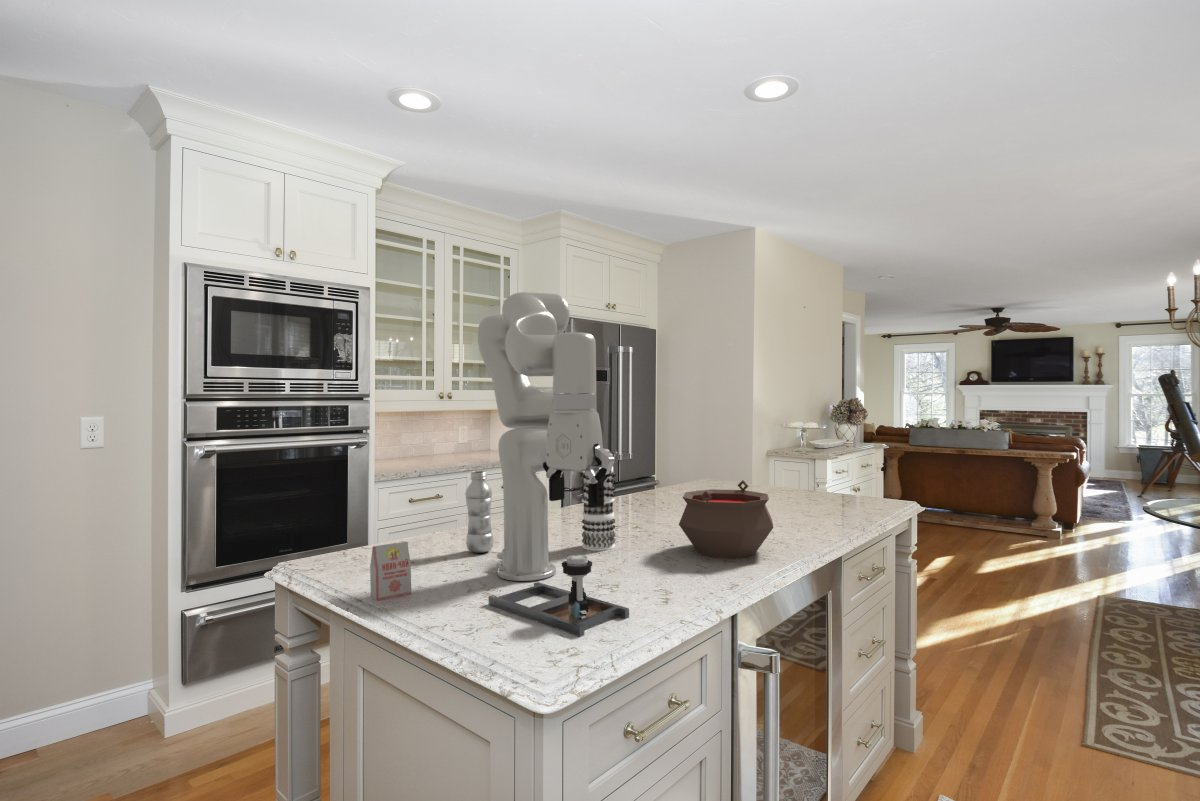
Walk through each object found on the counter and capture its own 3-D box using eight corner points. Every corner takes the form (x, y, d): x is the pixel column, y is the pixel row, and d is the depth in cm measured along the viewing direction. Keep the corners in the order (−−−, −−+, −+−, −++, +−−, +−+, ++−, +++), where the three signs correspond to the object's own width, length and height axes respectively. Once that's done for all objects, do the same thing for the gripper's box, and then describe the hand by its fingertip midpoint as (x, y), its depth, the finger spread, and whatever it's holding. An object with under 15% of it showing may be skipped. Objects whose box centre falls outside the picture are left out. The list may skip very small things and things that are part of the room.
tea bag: (370, 596, 123) (369, 544, 123) (404, 589, 127) (404, 539, 127) (376, 600, 120) (375, 548, 120) (411, 593, 124) (410, 543, 124)
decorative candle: (589, 552, 155) (587, 451, 155) (575, 545, 164) (574, 448, 163) (622, 548, 159) (621, 449, 159) (607, 541, 167) (606, 446, 167)
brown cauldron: (704, 536, 172) (703, 476, 172) (791, 547, 158) (790, 482, 158) (659, 554, 152) (658, 487, 152) (753, 569, 138) (752, 494, 138)
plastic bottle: (491, 555, 154) (489, 473, 154) (463, 555, 154) (462, 473, 154) (495, 548, 161) (494, 470, 161) (469, 549, 161) (468, 470, 161)
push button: (599, 620, 107) (598, 561, 107) (569, 624, 105) (568, 564, 105) (587, 608, 113) (586, 552, 113) (558, 611, 112) (558, 555, 112)
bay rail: (488, 604, 117) (488, 596, 117) (537, 589, 126) (537, 582, 126) (579, 636, 101) (579, 627, 101) (629, 616, 109) (629, 608, 109)
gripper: (525, 404, 113) (526, 500, 113) (595, 405, 101) (597, 512, 101) (556, 403, 118) (557, 495, 118) (626, 404, 106) (627, 505, 106)
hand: (575, 503), depth 110 cm, fingers open, 9 cm apart
